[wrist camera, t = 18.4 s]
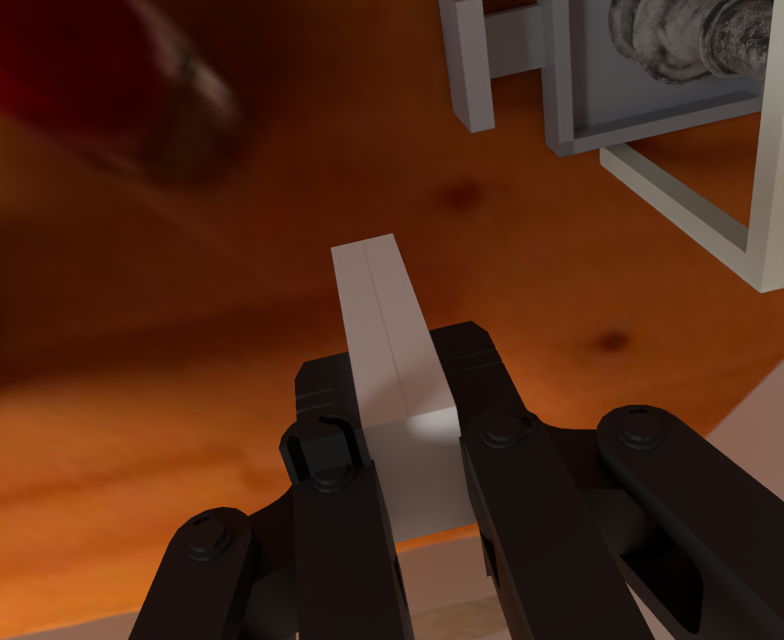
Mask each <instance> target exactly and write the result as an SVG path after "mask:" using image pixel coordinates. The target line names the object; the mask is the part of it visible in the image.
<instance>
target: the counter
mask: <svg viewBox="0 0 784 640" xmlns="http://www.w3.org/2000/svg"><path fill="white" fill-rule="evenodd" d="M600 164H601V165H602V166H603V167H604V168H606V169H607V170H608V171H609V172H611V173H612V174H613V175H614V176H616V177H617V178H618V179H619V180H620V181H622V182H623V183H624V184H625V185H627V186H628V187H629V188H630V189H632V190H633V191H634V192H635V193H637V194H638V195H639V196H640V197H642V198H643V199H644V200H645V201H647V202H648V203H649V204H650V205H652V206H653V207H654V208H655V209H657V210H658V211H659V212H660V213H661V214H663V215H664V216H665V217H666V218H668V219H669V220H670V221H671V222H673V223H674V224H675V225H676V226H678V227H679V228H680V229H681V230H683V231H684V232H685V233H686V234H688V235H689V236H690V237H691V238H693V239H694V240H695V241H696V242H698V243H699V244H700V245H701V246H702V247H704V248H705V249H706V250H707V251H709V252H710V253H711V254H712V255H714V256H715V257H716V258H717V259H719V260H720V261H721V262H722V263H724V264H725V265H726V266H727V267H729V268H730V269H731V270H732V271H734V272H735V273H736V274H737V275H739V276H740V277H741V278H742V279H743V280H745V281H746V282H747V283H748V284H750V285H751V286H752V287H753V288H755V289H756V290H757V291H758V292H760V293H764V292H768V291H773V290H777V289H781V288H784V0H774V5H773V14H772V23H771V32H770V41H769V50H768V59H767V69H766V78H765V87H764V96H763V105H762V114H761V123H760V132H759V141H758V150H757V159H756V168H755V177H754V186H753V195H752V204H751V213H750V222H749V229H748V228H747V227H745V226H744V225H742V224H741V223H740V222H738V221H737V220H735V219H734V218H732V217H731V216H729V215H728V214H727V213H725V212H724V211H722V210H721V209H719V208H718V207H716V206H715V205H713V204H712V203H711V202H709V201H708V200H706V199H705V198H703V197H702V196H700V195H699V194H698V193H696V192H695V191H693V190H692V189H690V188H689V187H687V186H686V185H684V184H683V183H682V182H680V181H679V180H677V179H676V178H674V177H673V176H671V175H670V174H669V173H667V172H666V171H664V170H663V169H661V168H660V167H658V166H657V165H656V164H654V163H653V162H651V161H650V160H648V159H647V158H645V157H644V156H642V155H641V154H640V153H638V152H637V151H635V150H634V149H632V148H631V147H629V146H628V145H627V144H625V143H620V144H616V145H612V146H608V147H603V148H600Z"/></svg>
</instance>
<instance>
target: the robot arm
mask: <svg viewBox="0 0 784 640" xmlns="http://www.w3.org/2000/svg"><path fill="white" fill-rule="evenodd" d="M331 252H332V257H333V263H334V269H335V275H336V280H337V286H338V292H339V298H340V303H341V309H342V315H343V321H344V326H345V332H346V338H347V344H348V349H349V352H345V353H341V354H336V355H332V356H328V357H324V358H320V359H315V360H311V361H307V362H304V363H303V365H302V367H301V369H300V371H299V372H298V374H297V376H296V378H295V395H296V411H297V414H296V415H297V421H296V422H295V423H294V424H292V425H291V426H290V427H289V428H288V429H287V431H286V432H285V433H284V434H283V436H282V438H281V442H280V446H279V450H280V453H281V456H282V458H283V461H284V464H285V466H286V469H287V472H288V475H289V477H290V480H291V483H292V485H291V487H290V488H289V489H288V491H287V492H286V493H285V494H284V495H282V496H281V497H280V498H279V499H278V500H276V501H275V502H273V503H272V504H270V505H268V506H267V507H265V508H263V509H261V510H259V511H257V512H255V513H253V514H251V515H250V516H247V515H246V514H245V513H243V512H241V511H240V510H238V509H236V508H228V507H219V508H214V509H210V510H206V511H204V512H202V513H200V514H198V515H196V516H194V517H192V518H190V519H189V520H188V521H187V522H186V523H185V524H184V525H182V526H181V527H180V528H179V529H178V530H177V532H176V533H175V535H174V536H173V538H172V539H171V541H170V543H169V545H168V547H167V549H166V552H165V554H164V556H163V559H162V561H161V564H160V566H159V568H158V571H157V573H156V575H155V578H154V580H153V582H152V585H151V587H150V589H149V592H148V594H147V596H146V599H145V601H144V603H143V606H142V608H141V611H140V613H139V615H138V618H137V620H136V622H135V625H134V627H133V629H132V632H131V634H130V636H129V639H128V640H296V633H297V632H299V640H415V639H414V633H413V628H412V623H411V618H410V613H409V609H408V603H407V598H406V593H405V588H404V583H403V578H402V573H401V569H400V565H399V561H398V557H397V554H396V550H395V545H394V543H397V542H401V541H405V540H409V539H413V538H417V537H421V536H425V535H429V534H433V533H437V532H441V531H445V530H449V529H453V528H457V527H461V526H465V525H469V524H473V523H476V521H475V517H476V520H477V523H478V526H479V530H480V536H481V542H482V548H483V554H484V560H485V566H486V572H487V576H492V579H493V582H494V585H495V588H496V592H497V595H498V598H499V601H500V604H501V607H502V610H503V613H504V616H505V619H506V623H507V626H508V629H509V632H510V635H511V638H512V640H655V638H654V636H653V635H652V633H651V631H650V629H649V627H648V625H647V623H646V621H645V619H644V617H643V615H642V613H641V611H640V609H639V607H638V606H637V603H636V602H635V600H634V598H633V596H632V594H631V592H630V590H629V588H628V586H627V584H628V585H629V586H630V587H631V589H632V590H633V591H634V592H635V593H636V594H637V596H638V597H639V598H640V599H641V600H642V601H643V603H644V604H645V605H646V606H647V607H648V608H649V609H650V611H651V612H652V613H653V614H654V615H655V616H656V618H657V619H658V620H659V621H660V622H661V623H662V625H663V626H664V627H665V628H666V629H667V630H668V632H669V633H670V634H671V635H672V636H673V637H674V639H675V640H784V502H783V501H782V500H781V499H780V498H778V497H777V496H776V495H775V494H773V493H772V492H771V491H770V490H768V489H767V488H766V487H764V486H763V485H762V484H761V483H759V482H758V481H757V480H756V479H754V478H753V477H752V476H751V475H749V474H748V473H746V471H744V470H743V469H742V468H740V467H739V466H738V465H736V464H735V463H734V462H733V461H732V460H730V459H729V458H728V457H727V456H725V455H724V454H723V453H722V452H720V451H719V450H718V449H716V448H715V447H714V446H713V445H711V444H710V443H709V442H708V441H706V440H705V439H704V438H703V437H701V436H700V435H699V434H698V433H696V432H695V431H694V430H693V429H691V428H690V427H689V426H687V425H686V424H685V423H684V422H682V421H681V420H680V419H679V418H677V417H676V416H674V415H672V414H671V413H669V412H667V411H665V410H664V409H661V408H657V407H653V406H649V405H627V406H623V407H620V408H616V409H613V410H612V411H610V412H609V413H608V414H606V415H605V416H603V417H602V419H601V421H600V423H599V424H598V426H597V429H562V428H557V427H553V426H549V425H547V424H545V423H543V422H542V421H541V420H540V419H539V418H538V417H537V416H536V415H535V414H533V413H531V412H529V411H528V410H527V409H526V407H525V405H524V403H523V401H522V399H521V397H520V395H519V394H518V392H517V390H516V388H515V386H514V384H513V382H512V380H511V378H510V376H509V374H508V372H507V370H506V368H505V366H504V364H503V363H502V360H501V358H500V356H499V354H498V352H497V350H496V349H495V346H494V344H493V342H492V340H491V338H490V336H489V334H488V332H487V331H486V330H484V329H483V328H481V327H480V326H478V325H477V324H475V323H474V322H472V321H468V322H463V323H459V324H455V325H451V326H447V327H442V328H438V329H434V330H430V331H428V328H427V326H426V323H425V320H424V318H423V315H422V312H421V309H420V307H419V304H418V301H417V298H416V296H415V293H414V290H413V287H412V285H411V282H410V279H409V277H408V274H407V271H406V268H405V266H404V263H403V260H402V257H401V255H400V252H399V249H398V247H397V244H396V241H395V238H394V236H393V233H392V234H387V235H383V236H379V237H375V238H370V239H366V240H362V241H357V242H353V243H349V244H345V245H340V246H336V247H332V248H331ZM474 514H475V515H474ZM626 583H627V584H626Z"/></svg>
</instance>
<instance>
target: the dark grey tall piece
mask: <svg viewBox="0 0 784 640" xmlns="http://www.w3.org/2000/svg"><path fill="white" fill-rule="evenodd" d="M773 5H774V0H612V1H611V5H610V10H609V14H608V26H609V33H610V36H611V40H612V43H613V44H614V46H615V47H616V49H617V51H618V52H619V53H620V54H621V55H622V56H624V57H625V58H626V59H627V60H629V61H632V62H635V63H637V64H640V65H641V66H642V68H643V70H644V71H645V72H646V73H648V74H649V75H650V76H651V77H652V78H654V79H655V80H657V81H660V82H663V83H665V84H668V85H687V84H691V83H695V82H698V81H700V80H702V79H704V78H706V77H708V76H710V75H712V74H714V75H717V76H719V77H722V78H736V77H741V76H747V77H750V78H752V79H755V80H758V81H760V82H763V83H765V78H766V69H767V59H768V50H769V41H770V32H771V23H772V14H773Z"/></svg>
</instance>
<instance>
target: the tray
mask: <svg viewBox="0 0 784 640" xmlns="http://www.w3.org/2000/svg"><path fill="white" fill-rule="evenodd" d="M438 1H439V8H440V16H441V23H442V31H443V38H444V46H445V53H446V61H447V69H448V76H449V84H450V91H451V99H452V106H453V112H454V113H455V115H456V116H457V117H458V118H459V119H460V120H461V122H462V123H463V124H464V125H465V126H466V127H467V129H468V130H469V131H470V132H471V133H475V132H479V131H483V130H488V129H492V128H495V122H494V113H493V103H492V93H491V83H490V79H493V78H497V77H502V76H506V75H511V74H515V73H519V72H524V71H528V70H533V69H537V68H541V78H542V94H543V110H544V127H545V143H546V145H547V146H548V147H549V148H550V149H551V150H552V151H553V152H554V153H555V154H557V155H558V156H559V157H564V156H569V155H573V154H577V153H582V152H586V151H590V150H595V149H599V148H603V147H608V146H612V145H616V144H620V143H625V142H629V141H633V140H638V139H642V138H646V137H651V136H655V135H659V134H664V133H668V132H672V131H677V130H681V129H685V128H690V127H694V126H698V125H703V124H707V123H711V122H715V121H720V120H724V119H728V118H733V117H737V116H741V115H746V114H750V113H754V112H759V111H762V105H763V96H764V87H765V83H763V82H760V81H758V80H755V79H752V78H750V77H747V76H741V77H736V78H722V77H719V76H717V75H714V74H712V75H710V76H708V77H706V78H704V79H702V80H700V81H698V82H695V83H691V84H687V85H668V84H665V83H663V82H660V81H657V80H655V79H654V78H652V77H651V76H650V75H649V74H648V73H646V72H645V71H644V70H643V68H642V66H641V65H640V64H637V63H635V62H632V61H629V60H627V59H626V58H625V57H624V56H622V55H621V54H620V53H619V52H618V51H617V49H616V47H615V46H614V44H613V43H612V40H611V36H610V33H609V26H608V14H609V10H610V5H611V1H612V0H537V3H535V4H531V5H526V6H522V7H517V8H513V9H508V10H504V11H499V12H495V13H490V14H486V15H484V13H483V4H482V0H438Z"/></svg>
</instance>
